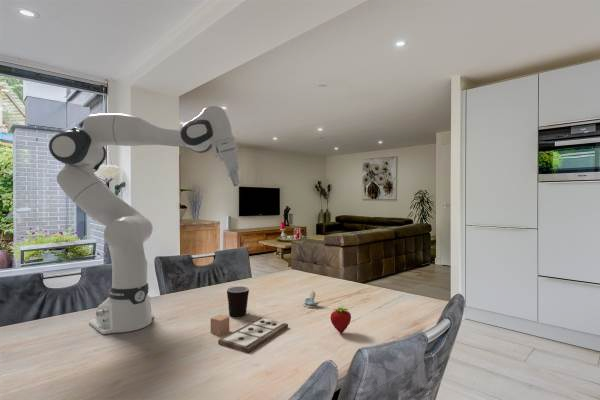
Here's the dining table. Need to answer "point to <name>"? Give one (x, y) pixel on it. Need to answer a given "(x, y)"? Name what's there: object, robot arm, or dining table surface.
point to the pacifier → (310, 301)
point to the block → (219, 324)
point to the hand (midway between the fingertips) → (236, 185)
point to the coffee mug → (237, 301)
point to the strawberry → (340, 319)
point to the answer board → (253, 334)
